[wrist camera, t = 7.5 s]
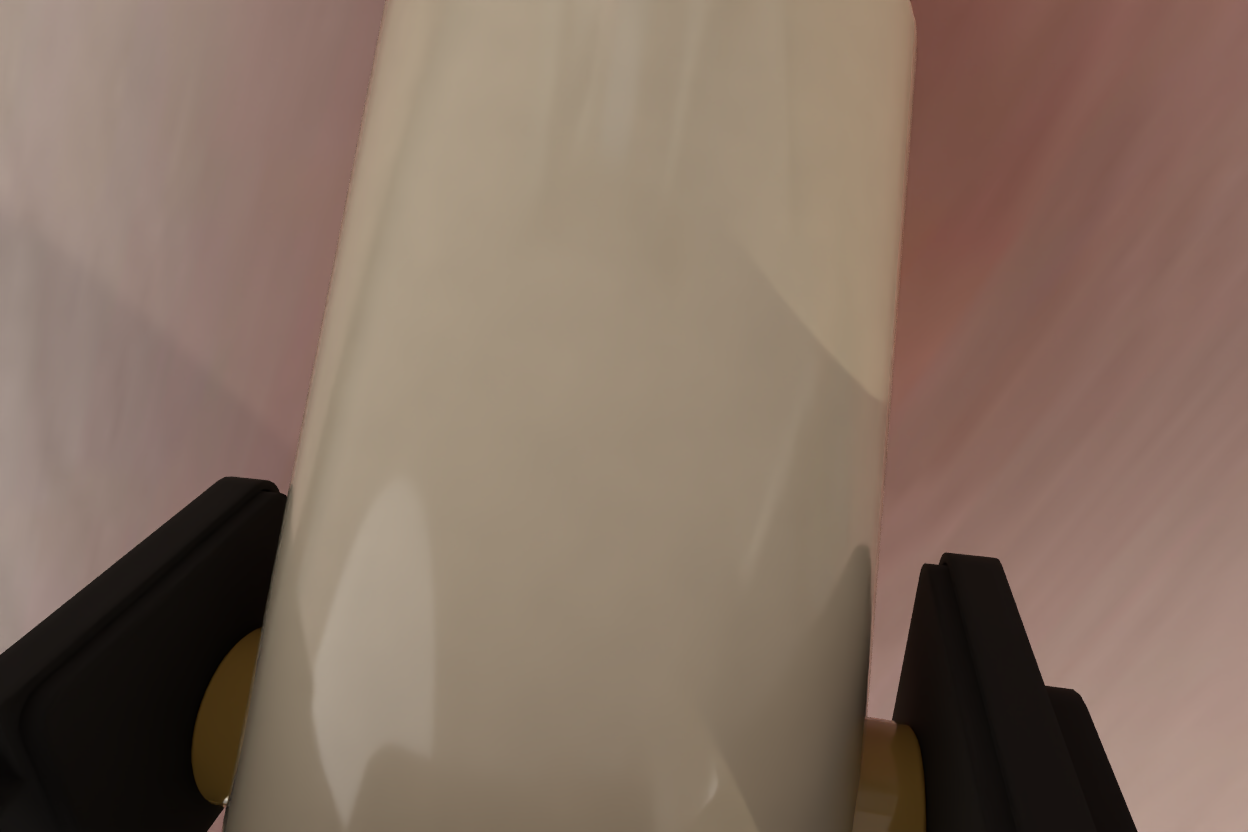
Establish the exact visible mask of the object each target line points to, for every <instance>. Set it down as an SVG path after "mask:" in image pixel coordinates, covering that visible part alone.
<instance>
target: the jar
mask: <svg viewBox="0 0 1248 832" xmlns="http://www.w3.org/2000/svg"><path fill="white" fill-rule="evenodd" d="M916 56H917V28H916V22H915V18H914V14H913V10H912V6H911V2H910V0H385V3H384V8H383V13H382V18H381V23H380V29H379V34H378V39H377V44H376V49H375V54H374V59H373V64H372V69H371V74H370V79H369V84H368V89H367V95H366V100H365V105H364V110H363V115H362V120H361V125H360V130H359V135H358V140H357V145H356V150H355V156H354V161H353V166H352V171H351V176H350V181H349V186H348V191H347V196H346V201H345V206H344V211H343V216H342V222H341V227H340V232H339V237H338V242H337V247H336V252H335V257H334V262H333V267H332V272H331V277H330V282H329V288H328V293H327V298H326V303H325V308H324V313H323V318H322V323H321V328H320V333H319V338H318V343H317V349H316V354H315V359H314V364H313V369H312V374H311V379H310V384H309V389H308V394H307V399H306V404H305V409H304V415H303V420H302V425H301V430H300V435H299V440H298V445H297V450H296V455H295V460H294V465H293V470H292V475H291V481H290V486H289V491H288V496H287V501H286V506H285V511H284V516H283V521H282V526H281V531H280V536H279V542H278V547H277V552H276V557H275V562H274V567H273V572H272V577H271V582H270V587H269V592H268V597H267V602H266V608H265V613H264V618H263V623H262V627H260V628H257V629H255V630H253V631H251V632H250V633H248V634H246V635H245V636H244V637H243V638H241V639H240V640H239V641H238V642H237V643H236V644H235V645H234V646H233V647H232V648H231V649H230V651H229V652H228V653H227V654H226V656H225V657H224V658H223V660H222V661H221V663H220V664H219V666H218V668H217V669H216V671H215V673H214V675H213V676H212V678H211V680H210V682H209V684H208V687H207V689H206V691H205V694H204V696H203V699H202V701H201V704H200V707H199V710H198V714H197V717H196V722H195V726H194V731H193V737H192V746H191V766H192V774H193V778H194V782H195V784H196V787H197V789H198V791H199V792H200V794H201V795H202V796H203V797H204V798H205V799H206V800H207V801H208V802H209V803H211V804H213V805H216V806H221V807H226V811H225V816H224V821H223V826H222V831H221V832H927V800H926V784H925V773H924V766H923V759H922V753H921V749H920V745H919V741H918V738H917V735H916V733H915V730H914V729H913V727H912V726H910V725H908V724H907V723H905V722H898V721H892V720H885V719H879V718H872V717H867V714H868V701H869V687H870V674H871V660H872V647H873V633H874V620H875V607H876V593H877V580H878V566H879V553H880V539H881V526H882V513H883V499H884V486H885V472H886V459H887V445H888V432H889V418H890V405H891V392H892V378H893V365H894V351H895V338H896V324H897V311H898V298H899V284H900V271H901V257H902V244H903V230H904V217H905V204H906V190H907V177H908V163H909V150H910V136H911V123H912V110H913V96H914V83H915V69H916Z"/></svg>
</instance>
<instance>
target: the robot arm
mask: <svg viewBox="0 0 1248 832" xmlns="http://www.w3.org/2000/svg"><path fill="white" fill-rule="evenodd" d="M286 501H287V497H286V495H284V494H282V493H280V492H279V489H278V488H277V486H276V485H275V484H274V483H273V482H271V481H268V480H259V479H249V478H240V477H224V478H222V479H220V480H219V481H217V482H216V483H215V484H213V485H212V486H211V487H210V488H208V489H207V490H206V491H205V492H203V493H202V494H201V495H200V496H198V497H197V498H196V499H195V500H193V501H192V502H191V503H190V504H188V505H187V506H186V507H185V508H183V509H182V510H181V511H180V512H178V513H177V514H176V515H175V516H173V517H172V518H171V519H170V520H168V521H167V522H166V523H165V524H163V525H162V526H161V527H160V528H158V529H157V530H156V531H155V532H153V533H152V534H151V535H150V536H148V537H147V538H146V539H145V540H143V541H142V542H141V543H140V544H138V545H137V546H136V547H135V548H133V549H132V550H131V551H130V552H128V553H127V554H126V555H125V556H123V557H122V558H121V559H120V560H118V561H117V562H116V563H115V564H113V565H112V566H111V567H110V568H108V569H107V570H106V571H105V572H103V573H102V574H101V575H100V576H98V577H97V578H96V579H95V580H93V581H92V582H91V583H90V584H88V585H87V586H86V587H85V588H83V589H82V590H81V591H80V592H78V593H77V594H76V595H75V596H73V597H72V598H71V599H70V600H68V601H67V602H66V603H65V604H63V605H62V606H61V607H60V608H58V609H57V610H56V611H55V612H53V613H52V614H51V615H50V616H48V617H47V618H46V619H45V620H43V621H42V622H41V623H40V624H38V625H37V626H36V627H35V628H33V629H32V630H31V631H30V632H28V633H27V634H26V635H25V636H23V637H22V638H21V639H20V640H18V641H17V642H16V643H15V644H13V645H12V646H11V647H10V648H8V649H7V650H6V651H5V652H3V653H2V654H1V655H0V832H207V831H208V829H209V828H210V827H211V825H212V824H213V822H214V821H215V820H216V818H217V817H218V816H219V814H220V813H221V812H222V810H223V809H224V807H221V806H216V805H213V804H211V803H209V802H208V801H207V800H206V799H205V798H204V797H203V796H202V795H201V794H200V792H199V791H198V789H197V787H196V784H195V782H194V778H193V774H192V766H191V746H192V737H193V731H194V726H195V722H196V717H197V714H198V710H199V707H200V704H201V701H202V699H203V696H204V694H205V691H206V689H207V687H208V684H209V682H210V680H211V678H212V676H213V675H214V673H215V671H216V669H217V668H218V666H219V664H220V663H221V661H222V660H223V658H224V657H225V656H226V654H227V653H228V652H229V651H230V649H231V648H232V647H233V646H234V645H235V644H236V643H237V642H238V641H239V640H240V639H241V638H243V637H244V636H245V635H246V634H248V633H250V632H251V631H253V630H255V629H257V628H260V627H262V623H263V618H264V613H265V608H266V602H267V597H268V592H269V587H270V582H271V577H272V572H273V567H274V562H275V557H276V552H277V547H278V542H279V536H280V531H281V526H282V521H283V516H284V511H285V506H286ZM892 721H898V722H905V723H907V724H908V725H910V726H912V727H913V729H914V730H915V733H916V735H917V738H918V741H919V745H920V749H921V753H922V759H923V766H924V773H925V784H926V800H927V832H1137V829H1136V827H1135V824H1134V822H1133V819H1132V817H1131V814H1130V812H1129V810H1128V807H1127V805H1126V802H1125V800H1124V797H1123V795H1122V792H1121V790H1120V787H1119V785H1118V782H1117V780H1116V778H1115V775H1114V773H1113V770H1112V768H1111V765H1110V763H1109V760H1108V758H1107V755H1106V753H1105V751H1104V748H1103V746H1102V743H1101V741H1100V738H1099V736H1098V733H1097V731H1096V728H1095V726H1094V723H1093V721H1092V719H1091V716H1090V714H1089V711H1088V709H1087V707H1086V705H1085V703H1084V701H1083V699H1082V697H1081V696H1080V695H1079V694H1078V693H1077V692H1076V691H1074V690H1073V689H1066V688H1058V687H1050V686H1045V685H1044V682H1043V679H1042V676H1041V673H1040V671H1039V668H1038V665H1037V662H1036V659H1035V657H1034V654H1033V651H1032V648H1031V645H1030V643H1029V640H1028V637H1027V634H1026V631H1025V628H1024V626H1023V623H1022V620H1021V617H1020V614H1019V612H1018V609H1017V606H1016V603H1015V600H1014V598H1013V595H1012V592H1011V589H1010V586H1009V584H1008V581H1007V578H1006V575H1005V572H1004V570H1003V567H1002V564H1001V563H1000V561H999V559H997V558H991V557H982V556H972V555H963V554H954V553H944V554H943V555H942V557H941V559H940V563H939V565H935V564H926V563H925V564H923V566H922V568H921V572H920V577H919V582H918V587H917V592H916V598H915V603H914V608H913V613H912V619H911V624H910V629H909V634H908V640H907V645H906V650H905V655H904V661H903V666H902V671H901V676H900V682H899V687H898V692H897V697H896V703H895V708H894V713H893V718H892Z"/></svg>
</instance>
